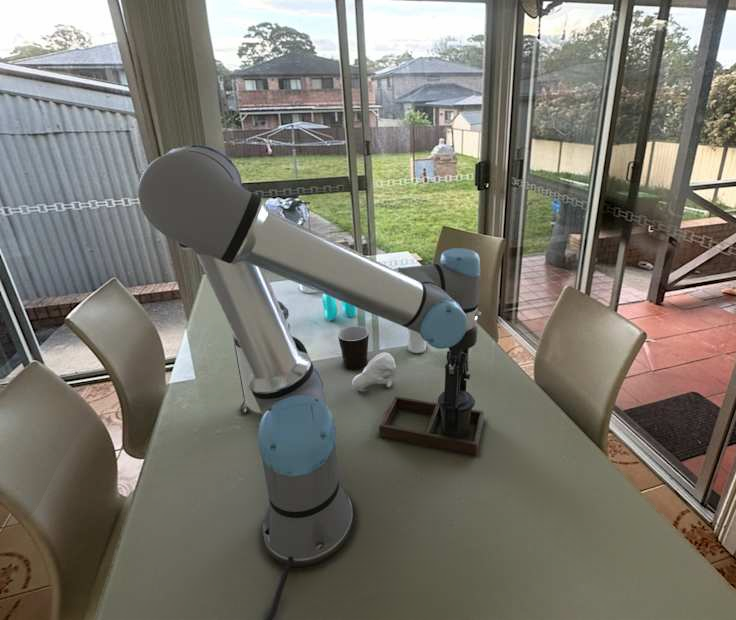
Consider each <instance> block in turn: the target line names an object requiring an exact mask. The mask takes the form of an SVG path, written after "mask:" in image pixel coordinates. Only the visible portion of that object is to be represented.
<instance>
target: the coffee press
mask: <svg viewBox="0 0 736 620" xmlns="http://www.w3.org/2000/svg"><path fill="white" fill-rule="evenodd" d="M277 301H278V304H279V306H280V308H281V311H282V313H283V316H284V318H285V321H286V323H287V325H288V328H289V330H290V331H291V328H290V323H289V319H288V318H289V315H290V313H289V312H290V311H289V309H288V308H287V307H286V306H285V305H284V303H283V302H281V301H280V300H277ZM292 337H293V340H294V342H295V345H296V347H297V350H298V351H300V352H304V353H306V354H307V355H308V356H309V354H308V351H307V349H306V346H305V345H304V343H303V342H301V341H302V340H299V339H298V338H297V337H295V336H292ZM232 339H233V345H234V352H235V357H236V362H237V369H238V375H239V379H240V385H241V390H242V396H243V402H242V403H241V405H240V408H239V409H240V412H241V413H242V414H245V413H247V412H248V411H249V410H251V411H252V412H254V413H256V414H261V410H260V408H259V406H258V404H257V401H256V399H255V397H254V395H253V393H252V391H251V389H250V387H249V384H248V382H249V378H250V376H251V374H252V370H251V368H250V366H249V364H248V362H247V360H246V357H245V355H244V353H243V351H242V349H241V347H240V345H239V343H238V341H237V339H236V337H235V335H234V332H233V331H232ZM245 405H246V407H245V408H243V407H244V406H245Z"/></svg>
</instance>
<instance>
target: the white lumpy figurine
mask: <svg viewBox="0 0 736 620" xmlns="http://www.w3.org/2000/svg"><path fill="white" fill-rule="evenodd" d="M396 371H397V366H396V362H395V358H394V357H393V356H392V355H391V354H390V353H389V352H386V351H384V352H380V353H378V354H376V355H375V356H373V358H371V359H370V360H369V361H368V362H367V364H366V366H365V367H364V368H363V370H362V372H361V373H359V374H357V375H355V376H354V378H353V379H352V383H351V384H352V387H353V389H355V390H357V391H358V392H363V393H365V392H366V387H368V386H371V385H376V384H377V385H378V384H379V385H385V387H386V388H390V387H391V385H392V383H393V381H394V378H395V375H396Z"/></svg>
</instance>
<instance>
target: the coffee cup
mask: <svg viewBox="0 0 736 620" xmlns="http://www.w3.org/2000/svg"><path fill="white" fill-rule="evenodd" d="M442 402H444V391H442V392H441V393H440V394H439V396H438V398H437V403H438V404H439V406H440V409H441V416H440V417H441V425H442V433H443V434H442V435H443V436H447V437H452V438H458V439H463V440H466V438H467V437H468V431H469V426H470V416H471V411H472V409H473V408H474V407H475V405H476V401H475V399H474V396H473V395H472V394H471V393H470V392H469V391H467V390H466V391H464V390H461V389H459V399H458V404H459V425H458V432H457V431H452V430H446V429H445V414H446V409H444V408H443V405H442Z"/></svg>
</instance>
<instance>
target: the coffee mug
mask: <svg viewBox="0 0 736 620" xmlns="http://www.w3.org/2000/svg"><path fill="white" fill-rule="evenodd" d="M369 336H370V332H369V330H368V328H366V327H365V326H360V325H351V326H347V327H343V328H341V329H340V330H339V331H338V332H337V338H338V342H339V343H338V344H339V347H340V353H341V357H342V362H343V367H344V368H345V369H347V370H349V371H359V370H362V369H364V368H365V367H366V366H367V365H368V350H369V338H370V337H369Z"/></svg>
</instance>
